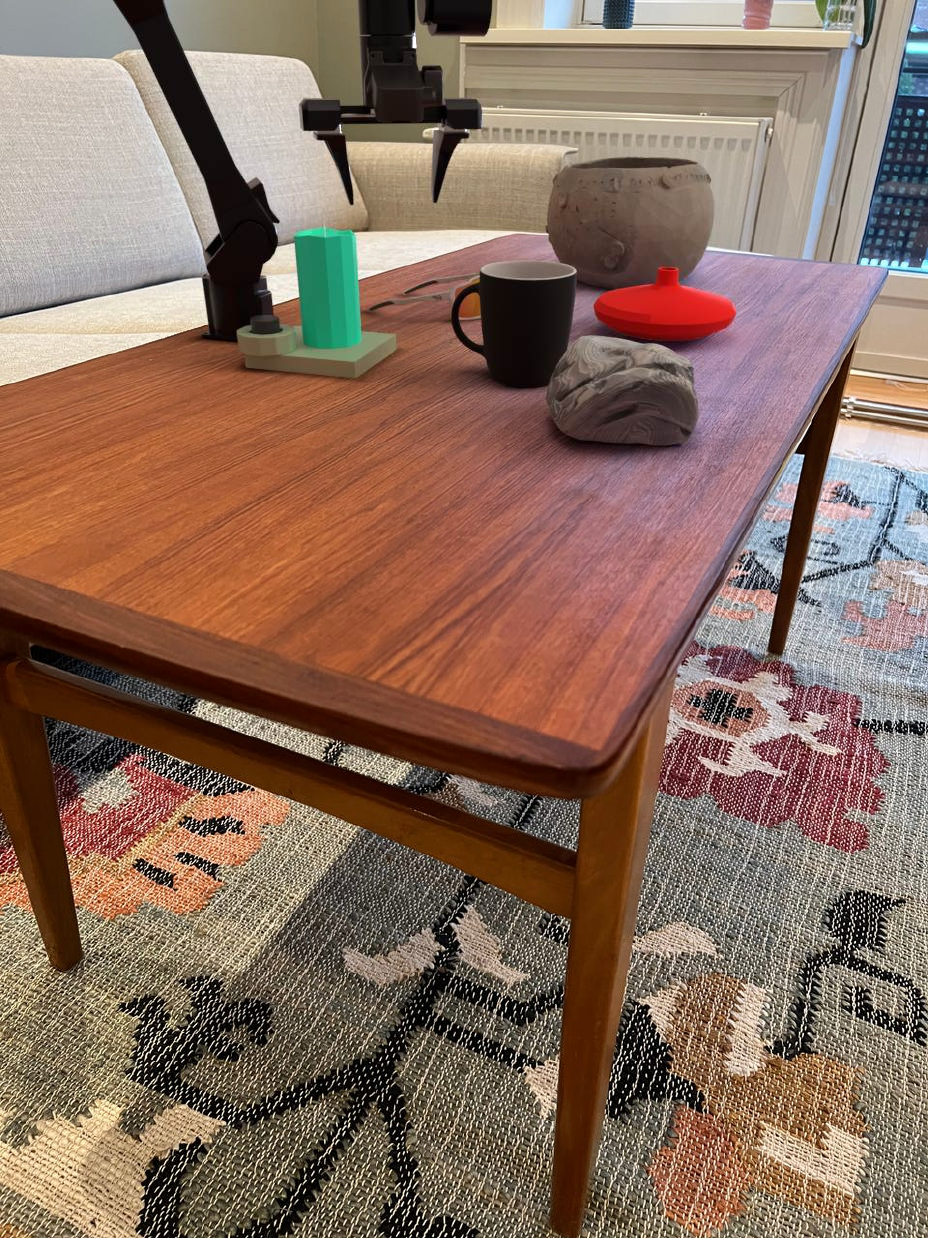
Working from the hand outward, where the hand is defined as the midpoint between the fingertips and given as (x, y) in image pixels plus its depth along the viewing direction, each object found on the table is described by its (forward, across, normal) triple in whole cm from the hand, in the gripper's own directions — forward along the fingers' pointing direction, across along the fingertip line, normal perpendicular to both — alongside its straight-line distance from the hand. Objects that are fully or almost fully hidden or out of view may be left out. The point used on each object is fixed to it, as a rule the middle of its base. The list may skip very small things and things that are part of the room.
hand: (393, 203), depth 102 cm
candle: (+12, -9, -12) cm, 19 cm away
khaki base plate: (+13, -10, -13) cm, 21 cm away
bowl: (+13, +36, +20) cm, 43 cm away
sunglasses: (+13, +6, +7) cm, 16 cm away
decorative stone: (+13, +13, -39) cm, 43 cm away
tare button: (+10, -15, -14) cm, 23 cm away
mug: (+13, +8, -23) cm, 28 cm away
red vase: (+13, +28, -11) cm, 33 cm away
